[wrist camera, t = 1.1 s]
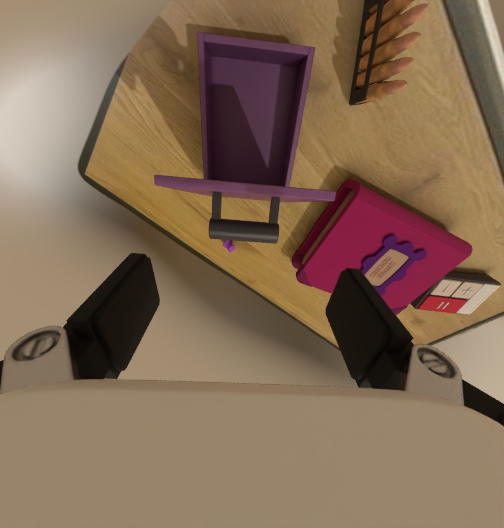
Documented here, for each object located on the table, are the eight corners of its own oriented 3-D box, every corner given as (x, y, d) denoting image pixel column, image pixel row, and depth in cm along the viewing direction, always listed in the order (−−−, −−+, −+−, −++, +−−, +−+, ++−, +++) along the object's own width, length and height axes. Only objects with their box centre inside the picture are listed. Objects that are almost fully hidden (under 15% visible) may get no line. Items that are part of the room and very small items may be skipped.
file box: (207, 50, 28) (197, 31, 22) (302, 62, 29) (315, 47, 23) (211, 182, 38) (204, 192, 32) (281, 188, 38) (287, 199, 33)
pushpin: (225, 234, 44) (223, 241, 41) (237, 241, 45) (236, 247, 42) (221, 242, 45) (219, 249, 42) (233, 248, 46) (232, 255, 43)
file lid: (153, 174, 14) (157, 239, 16) (337, 191, 15) (325, 252, 16) (203, 190, 32) (203, 220, 33) (287, 197, 33) (284, 227, 34)
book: (346, 176, 37) (365, 186, 31) (449, 232, 44) (482, 250, 38) (289, 262, 48) (294, 282, 42) (378, 297, 55) (395, 319, 48)
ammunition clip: (361, 104, 31) (412, 94, 21) (349, 105, 31) (394, 96, 22) (380, -5, 25) (464, -87, 15) (365, -3, 25) (439, -84, 15)
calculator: (442, 278, 46) (505, 285, 47) (430, 267, 50) (488, 274, 50) (415, 311, 53) (471, 317, 53) (406, 299, 56) (458, 305, 57)
